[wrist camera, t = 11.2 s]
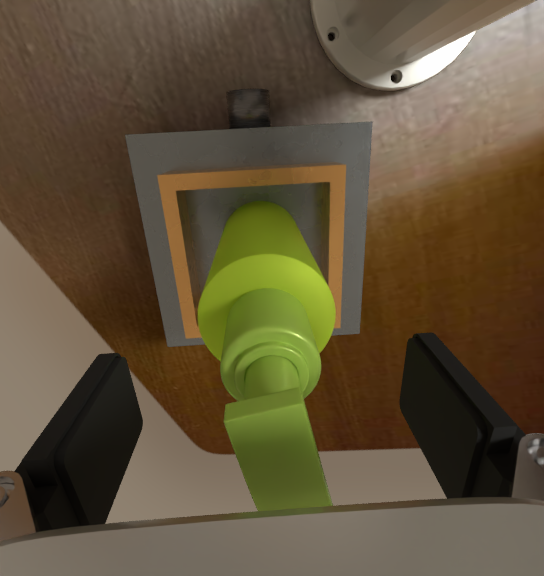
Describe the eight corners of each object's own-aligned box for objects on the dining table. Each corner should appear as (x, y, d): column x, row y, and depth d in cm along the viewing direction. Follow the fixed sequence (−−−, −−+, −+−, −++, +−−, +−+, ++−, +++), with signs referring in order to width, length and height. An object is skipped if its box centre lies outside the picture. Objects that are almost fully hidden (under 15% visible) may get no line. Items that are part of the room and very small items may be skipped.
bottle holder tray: (136, 101, 26) (97, 87, 19) (357, 90, 26) (391, 73, 20) (177, 324, 33) (158, 367, 27) (348, 312, 34) (370, 352, 28)
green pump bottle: (239, 293, 28) (212, 578, 10) (212, 212, 25) (107, 395, 7) (308, 275, 28) (414, 535, 9) (289, 191, 25) (385, 327, 7)
